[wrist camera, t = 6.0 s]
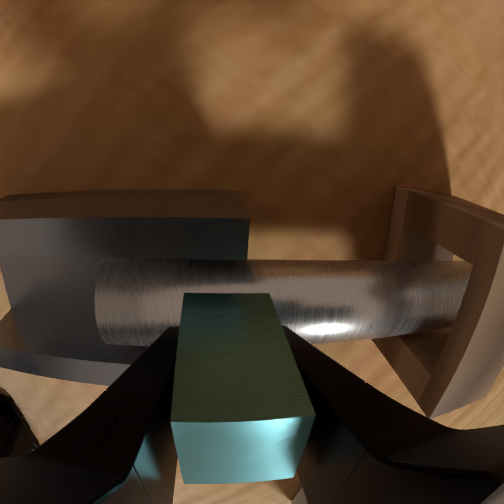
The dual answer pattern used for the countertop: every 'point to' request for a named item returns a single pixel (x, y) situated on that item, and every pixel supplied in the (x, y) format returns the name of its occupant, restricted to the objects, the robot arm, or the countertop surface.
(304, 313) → the rod
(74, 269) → the channel
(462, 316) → the socket block
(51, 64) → the countertop surface
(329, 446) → the robot arm
